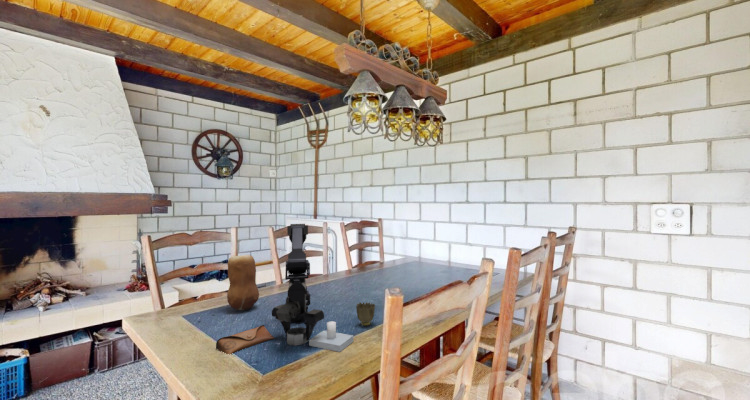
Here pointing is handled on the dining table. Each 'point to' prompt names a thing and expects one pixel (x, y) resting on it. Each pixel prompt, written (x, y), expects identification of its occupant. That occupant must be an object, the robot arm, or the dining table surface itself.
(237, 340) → the sunglasses case
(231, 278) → the butternut squash
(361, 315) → the cup
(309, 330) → the robot arm
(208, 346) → the dining table surface
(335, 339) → the shaft block
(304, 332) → the hub ring
